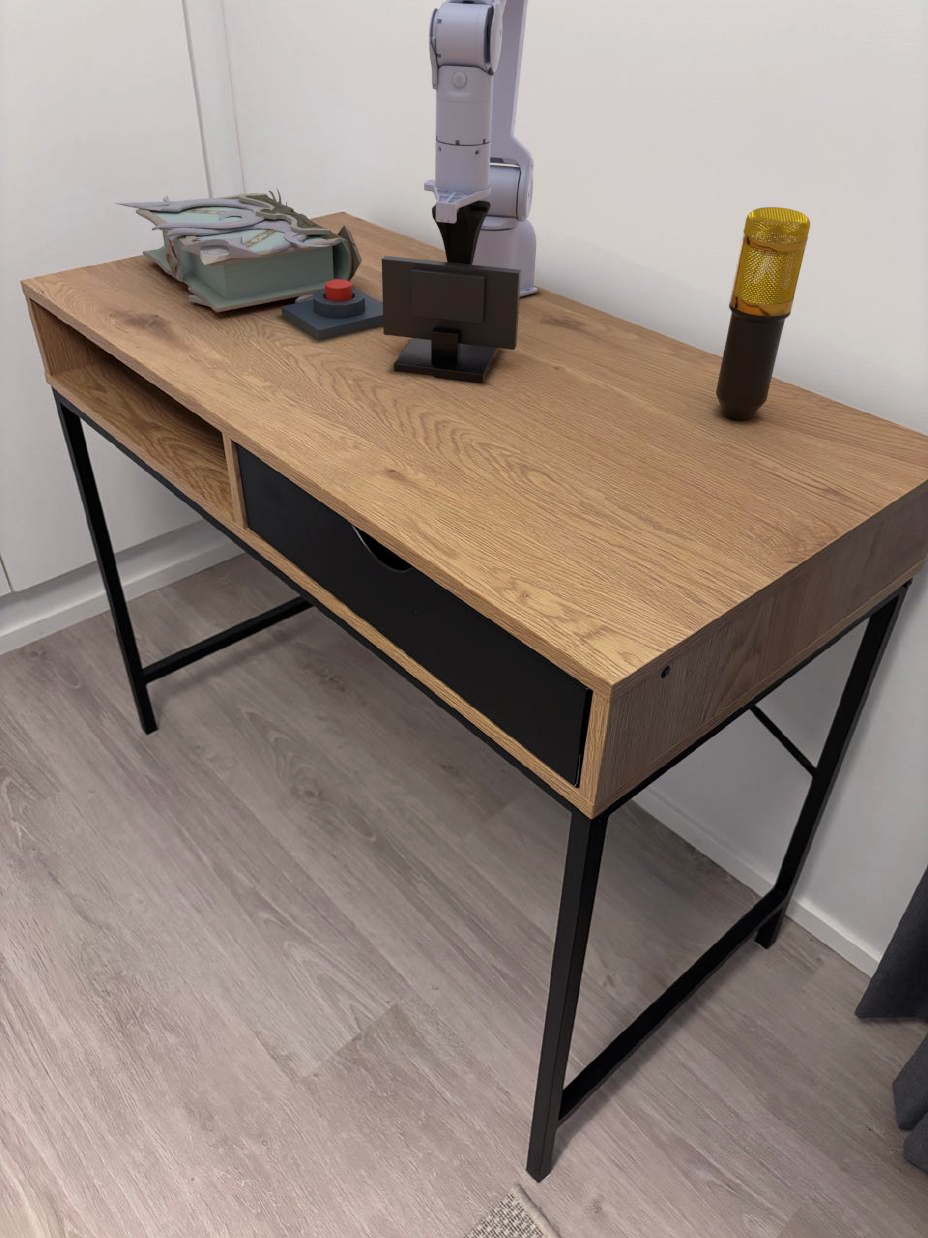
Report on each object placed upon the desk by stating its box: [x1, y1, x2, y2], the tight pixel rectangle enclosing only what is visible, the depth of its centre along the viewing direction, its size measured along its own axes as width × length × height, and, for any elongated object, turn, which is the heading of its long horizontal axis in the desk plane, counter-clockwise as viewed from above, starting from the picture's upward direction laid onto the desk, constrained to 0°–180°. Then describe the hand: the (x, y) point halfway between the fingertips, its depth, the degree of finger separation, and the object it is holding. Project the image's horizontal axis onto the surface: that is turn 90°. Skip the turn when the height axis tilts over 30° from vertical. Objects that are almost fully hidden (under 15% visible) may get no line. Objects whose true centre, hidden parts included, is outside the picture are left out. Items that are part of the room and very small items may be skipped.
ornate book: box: [114, 188, 363, 313], centre depth 130 cm, size 23×10×30 cm
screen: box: [381, 255, 521, 351], centre depth 108 cm, size 2×15×8 cm, turn 77°
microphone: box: [715, 206, 811, 421], centre depth 100 cm, size 6×13×20 cm, turn 34°
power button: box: [325, 279, 353, 301], centre depth 119 cm, size 3×3×2 cm
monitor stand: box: [393, 327, 501, 384], centre depth 111 cm, size 9×10×4 cm
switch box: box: [281, 287, 383, 342], centre depth 120 cm, size 11×9×3 cm
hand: (459, 272), depth 111 cm, fingers closed
